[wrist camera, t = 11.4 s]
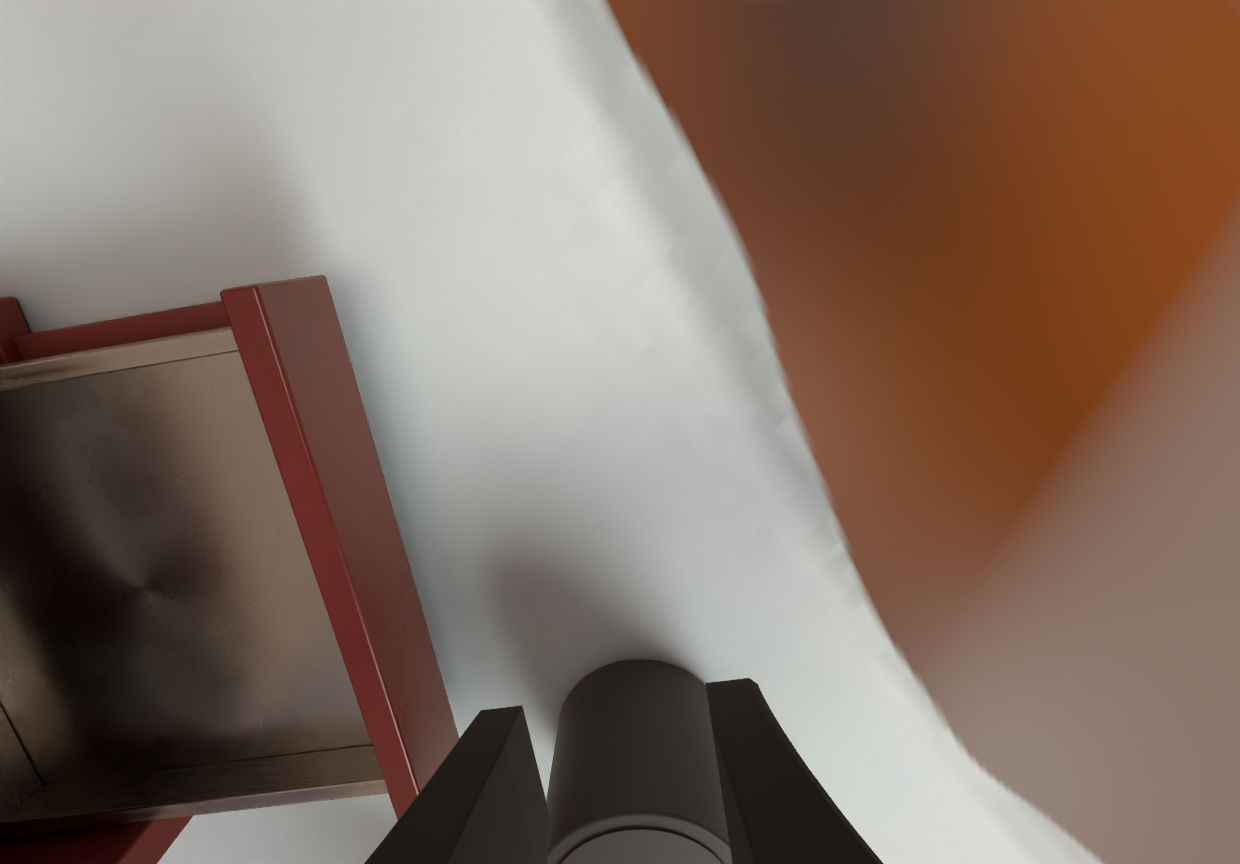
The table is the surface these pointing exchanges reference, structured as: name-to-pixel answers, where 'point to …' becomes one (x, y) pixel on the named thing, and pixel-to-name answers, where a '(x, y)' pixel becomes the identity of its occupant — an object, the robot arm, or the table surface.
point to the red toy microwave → (126, 852)
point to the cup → (636, 771)
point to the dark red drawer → (205, 580)
